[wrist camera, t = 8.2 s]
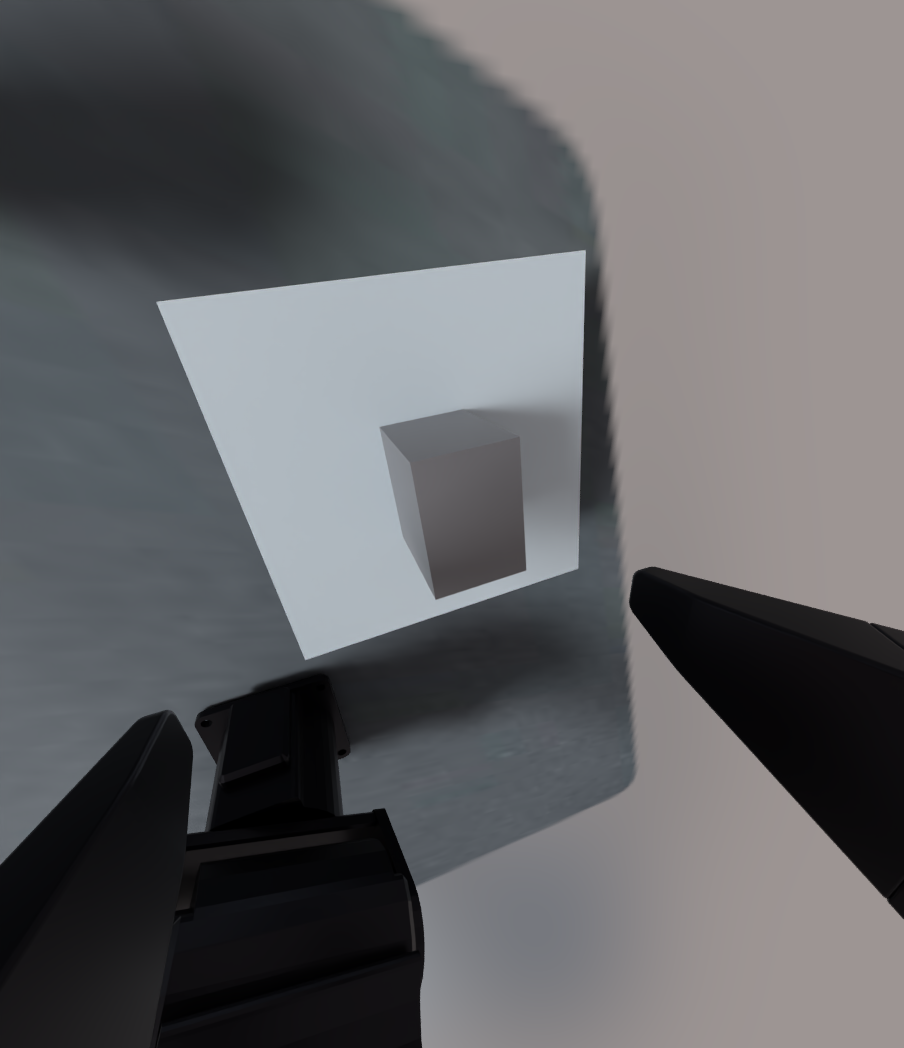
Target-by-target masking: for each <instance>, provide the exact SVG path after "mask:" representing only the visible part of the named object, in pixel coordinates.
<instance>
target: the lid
mask: <svg viewBox="0 0 904 1048" xmlns="http://www.w3.org/2000/svg"><path fill="white" fill-rule="evenodd" d="M585 257H586V250H583V251H575V252H566V253H558V254H550V255H541V256H533V257H525V258H516V259H508V260H500V261H492V262H483V263H475V264H467V265H458V266H450V267H442V268H433V269H425V270H417V271H409V272H400V273H392V274H384V275H375V276H367V277H359V278H350V279H342V280H334V281H325V282H317V283H309V284H301V285H292V286H284V287H276V288H267V289H259V290H251V291H242V292H234V293H226V294H218V295H209V296H201V297H193V298H184V299H176V300H168V301H159V302H157V305H158V307H159V310H160V312H161V314H162V317H163V319H164V322H165V324H166V326H167V329H168V331H169V334H170V336H171V338H172V341H173V343H174V346H175V348H176V350H177V353H178V355H179V358H180V360H181V362H182V365H183V367H184V370H185V372H186V374H187V377H188V379H189V382H190V384H191V386H192V389H193V391H194V394H195V396H196V398H197V401H198V403H199V406H200V408H201V410H202V413H203V415H204V418H205V420H206V422H207V425H208V427H209V430H210V432H211V434H212V437H213V439H214V442H215V444H216V446H217V449H218V451H219V454H220V456H221V458H222V461H223V463H224V466H225V468H226V470H227V473H228V475H229V478H230V480H231V482H232V485H233V487H234V490H235V492H236V494H237V497H238V499H239V502H240V504H241V506H242V509H243V511H244V514H245V516H246V518H247V521H248V523H249V526H250V528H251V530H252V533H253V535H254V538H255V540H256V542H257V545H258V547H259V550H260V552H261V554H262V557H263V559H264V562H265V564H266V567H267V569H268V571H269V574H270V576H271V579H272V581H273V583H274V586H275V588H276V591H277V593H278V595H279V598H280V600H281V603H282V605H283V607H284V610H285V612H286V615H287V617H288V619H289V622H290V624H291V627H292V629H293V631H294V634H295V636H296V639H297V641H298V643H299V646H300V648H301V651H302V653H303V655H304V658H305V660H307V659H310V658H313V657H316V656H319V655H322V654H325V653H328V652H331V651H334V650H337V649H340V648H343V647H346V646H349V645H352V644H355V643H358V642H361V641H364V640H367V639H369V638H372V637H375V636H378V635H381V634H384V633H387V632H390V631H393V630H396V629H399V628H402V627H405V626H408V625H411V624H414V623H417V622H420V621H423V620H426V619H429V618H432V617H435V616H438V615H441V614H444V613H447V612H450V611H453V610H456V609H459V608H462V607H465V606H468V605H471V604H474V603H477V602H480V601H483V600H486V599H489V598H492V597H495V596H498V595H501V594H504V593H507V592H510V591H513V590H516V589H519V588H522V587H525V586H528V585H531V584H534V583H537V582H540V581H543V580H546V579H549V578H552V577H555V576H557V575H560V574H563V573H566V572H569V571H572V570H575V569H578V553H579V511H580V469H581V426H582V384H583V342H584V300H585Z"/></svg>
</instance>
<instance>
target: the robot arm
mask: <svg viewBox="0 0 904 1048" xmlns="http://www.w3.org/2000/svg"><path fill="white" fill-rule="evenodd" d="M629 604H630V608H631V610H632V612H633V613H634V615H635V616H636V617H637V619H638V620H639V621H640V623H641V624H642V625H643V626H644V628H645V629H646V630H647V632H648V633H649V634H650V636H651V637H652V638H653V640H654V641H655V642H656V644H657V645H658V646H659V648H660V649H661V650H662V651H663V653H664V654H665V655H666V657H667V658H668V659H669V660H670V662H671V663H672V664H673V666H674V667H675V668H676V669H677V671H679V673H680V674H681V675H682V676H683V677H684V678H685V680H686V681H687V682H688V683H689V684H690V685H691V686H692V687H693V688H694V690H695V691H696V692H697V693H698V694H699V695H700V696H701V697H702V698H703V699H704V700H705V701H706V703H707V704H708V705H709V706H710V707H711V708H712V709H713V710H714V711H715V713H716V714H717V715H718V716H719V717H720V718H721V719H722V720H723V721H724V722H725V723H726V725H727V726H728V727H729V728H730V729H731V730H732V731H733V732H734V733H735V734H736V735H737V737H738V738H739V739H740V740H741V741H742V742H743V743H744V744H745V745H746V747H747V748H748V749H749V750H750V751H751V752H752V753H753V754H754V755H755V756H756V757H757V758H758V760H759V761H760V762H761V763H762V764H763V765H764V766H765V767H766V768H767V770H768V771H769V772H770V773H771V774H772V775H773V776H774V777H775V778H776V779H777V780H778V782H779V783H780V784H781V785H782V786H783V787H784V788H785V789H786V790H787V791H788V793H790V795H791V796H792V797H793V798H794V799H795V800H796V801H797V802H798V803H799V805H800V806H801V807H802V808H803V809H804V810H805V811H806V812H807V813H808V814H809V816H810V817H811V818H812V819H813V820H814V821H815V822H816V823H817V824H818V825H819V827H820V828H821V829H822V830H823V831H824V832H825V833H826V834H827V835H828V836H829V837H830V839H831V840H832V841H833V842H834V843H835V844H836V845H837V846H838V847H839V848H840V849H841V851H842V852H843V853H844V854H845V855H846V856H847V857H848V858H849V859H850V860H851V861H852V863H853V864H854V865H855V866H856V867H857V868H858V869H859V870H860V871H861V873H862V874H863V875H864V876H865V877H866V878H867V879H868V880H869V881H870V882H871V883H872V885H873V886H874V887H875V888H876V889H877V890H878V891H879V892H880V893H881V894H882V896H883V897H885V898H887V901H888V902H889V904H890V905H891V906H892V907H893V908H894V909H895V910H896V912H897V913H898V914H899V915H900V916H901V917H902V918H903V919H904V631H902V630H898V629H894V628H890V627H886V626H882V625H878V624H874V623H870V624H869V623H868V622H866V621H863V620H859V619H855V618H851V617H847V616H843V615H839V614H835V613H832V612H828V611H823V610H820V609H816V608H812V607H808V606H804V605H801V604H797V603H793V602H789V601H785V600H781V599H777V598H773V597H769V596H766V595H761V594H758V593H754V592H750V591H746V590H743V589H739V588H735V587H730V586H727V585H723V584H719V583H715V582H712V581H708V580H704V579H700V578H696V577H692V576H688V575H684V574H680V573H677V572H673V571H669V570H665V569H661V568H657V567H648V568H644V569H641V570H638V571H636V572H635V573H634V575H633V579H632V586H631V592H630V599H629ZM318 684H322V685H319V686H318ZM205 720H210V721H205ZM195 728H196V729H197V731H198V733H199V735H200V736H201V738H202V740H203V742H204V743H205V745H206V747H207V749H208V750H209V752H210V754H211V756H212V757H213V759H214V761H215V763H216V764H217V767H216V773H215V778H214V784H213V789H212V795H211V800H210V806H209V811H208V817H207V823H206V828H205V832H198V833H190V834H187V828H188V815H189V801H190V788H191V775H192V762H193V749H192V745H191V742H190V740H189V738H188V736H187V734H186V732H185V731H184V729H183V727H182V725H181V724H180V722H179V720H178V718H177V716H176V715H175V714H174V712H172V711H170V710H165V711H161V712H158V713H154V714H151V715H148V716H144V717H142V718H140V719H139V720H138V721H136V722H135V723H134V724H133V725H132V726H131V728H130V729H129V730H128V731H127V732H126V733H125V734H124V735H123V736H122V737H121V738H120V739H119V740H118V741H117V742H116V743H115V744H114V745H113V747H112V748H111V749H110V750H109V751H108V752H107V753H106V754H105V755H104V756H103V757H102V758H101V759H100V760H99V761H98V762H97V763H96V764H95V766H94V767H93V768H92V769H91V770H90V771H89V772H88V773H87V774H86V775H85V776H84V777H83V778H82V779H81V780H80V781H79V782H78V783H77V785H76V786H75V787H74V788H73V789H72V790H71V791H70V792H69V793H68V794H67V795H66V796H65V797H64V798H63V799H62V800H61V801H60V802H59V804H58V805H57V806H56V807H55V808H54V809H53V810H52V811H51V812H50V813H49V814H48V815H47V816H46V817H45V818H44V819H43V820H42V821H41V823H40V824H39V825H38V826H37V827H36V828H35V829H34V830H33V831H32V832H31V833H30V834H29V835H28V836H27V837H26V838H25V839H24V840H23V842H22V843H21V844H20V845H19V846H18V847H17V848H16V849H15V850H14V851H13V852H12V853H11V854H10V855H9V856H8V857H7V858H6V859H5V861H4V862H3V863H2V864H1V865H0V1048H422V1042H421V1019H420V988H421V983H422V979H423V969H424V928H423V919H422V912H421V906H420V902H419V897H418V893H417V890H416V887H415V884H414V881H413V879H412V876H411V873H410V871H409V868H408V866H407V863H406V861H405V858H404V856H403V853H402V851H401V848H400V845H399V843H398V840H397V838H396V835H395V833H394V830H393V828H392V825H391V823H390V820H389V817H388V815H387V812H386V810H385V808H382V809H374V810H373V811H372V812H368V813H359V814H351V815H343V807H342V797H341V787H340V777H339V766H338V760H339V759H341V758H344V757H346V756H347V755H349V753H350V743H349V740H348V737H347V733H346V730H345V727H344V724H343V721H342V717H341V714H340V711H339V708H338V705H337V701H336V698H335V695H334V692H333V689H332V686H331V682H330V679H329V677H328V676H326V675H317V676H314V677H310V678H307V679H304V680H301V681H297V682H294V683H291V684H288V685H285V686H281V687H278V688H275V689H272V690H268V691H265V692H262V693H259V694H255V695H252V696H249V697H246V698H243V699H239V700H236V701H233V702H230V703H226V704H223V705H220V706H217V707H214V708H210V709H207V710H204V711H202V712H200V713H199V714H198V715H197V717H196V721H195Z"/></svg>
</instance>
